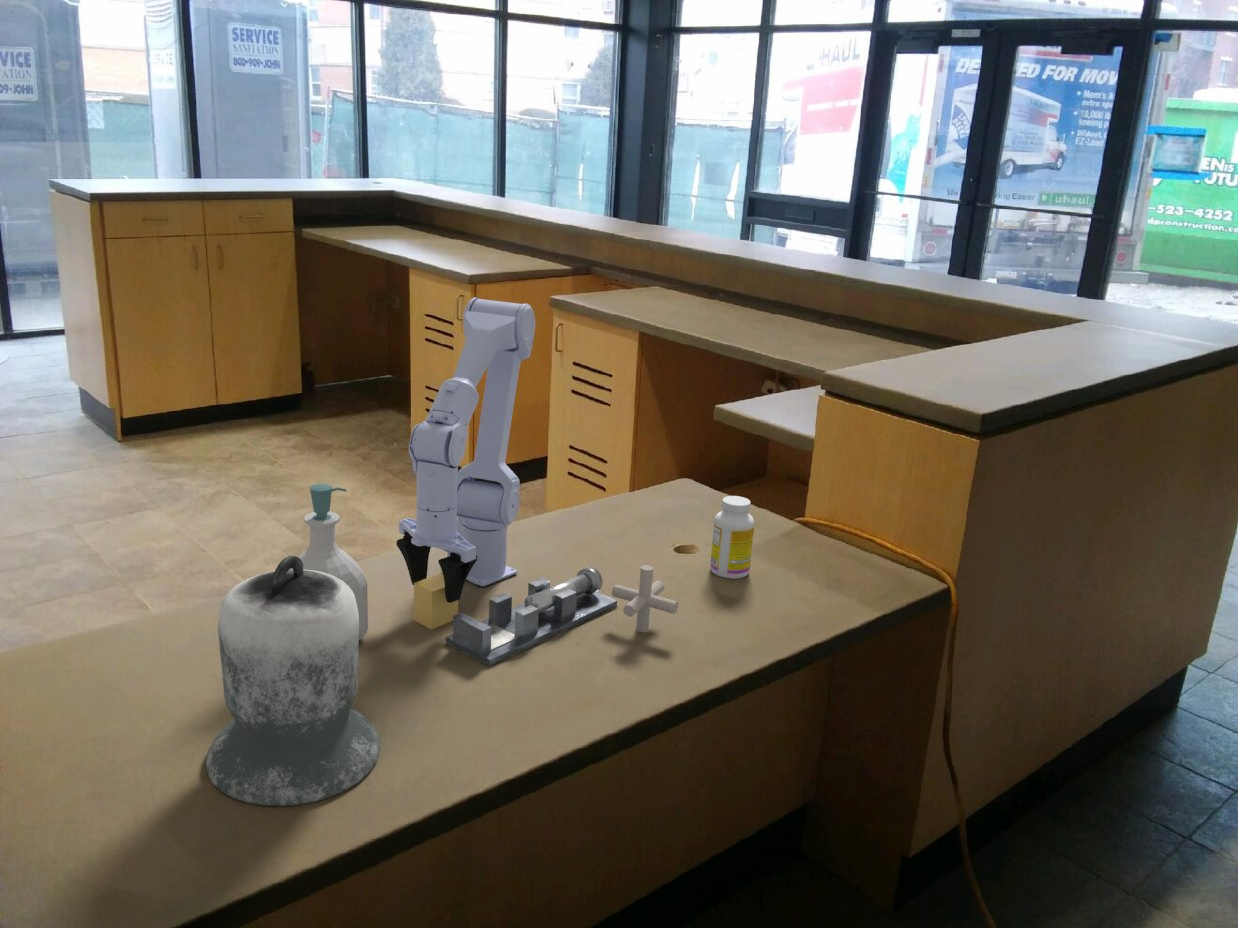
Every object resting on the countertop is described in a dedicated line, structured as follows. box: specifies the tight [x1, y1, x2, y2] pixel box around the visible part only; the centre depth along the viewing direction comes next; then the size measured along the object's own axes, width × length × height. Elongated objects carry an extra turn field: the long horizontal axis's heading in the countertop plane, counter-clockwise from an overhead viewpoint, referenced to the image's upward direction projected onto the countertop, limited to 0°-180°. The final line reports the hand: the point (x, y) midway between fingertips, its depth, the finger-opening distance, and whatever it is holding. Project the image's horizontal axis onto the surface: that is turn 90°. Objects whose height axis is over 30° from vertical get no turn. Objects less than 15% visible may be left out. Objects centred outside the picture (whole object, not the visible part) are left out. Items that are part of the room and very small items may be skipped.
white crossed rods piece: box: [611, 564, 679, 633], centre depth 158 cm, size 10×10×10 cm
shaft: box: [523, 566, 603, 613], centre depth 162 cm, size 4×14×4 cm, turn 140°
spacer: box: [413, 572, 459, 630], centre depth 157 cm, size 4×5×6 cm
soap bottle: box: [289, 483, 369, 641], centre depth 147 cm, size 10×10×23 cm
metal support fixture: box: [445, 576, 618, 667], centre depth 158 cm, size 9×27×5 cm, turn 140°
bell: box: [205, 555, 381, 807], centre depth 120 cm, size 19×19×25 cm
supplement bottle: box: [709, 495, 755, 580], centre depth 179 cm, size 7×7×13 cm
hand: (435, 591), depth 157 cm, fingers open, 7 cm apart
